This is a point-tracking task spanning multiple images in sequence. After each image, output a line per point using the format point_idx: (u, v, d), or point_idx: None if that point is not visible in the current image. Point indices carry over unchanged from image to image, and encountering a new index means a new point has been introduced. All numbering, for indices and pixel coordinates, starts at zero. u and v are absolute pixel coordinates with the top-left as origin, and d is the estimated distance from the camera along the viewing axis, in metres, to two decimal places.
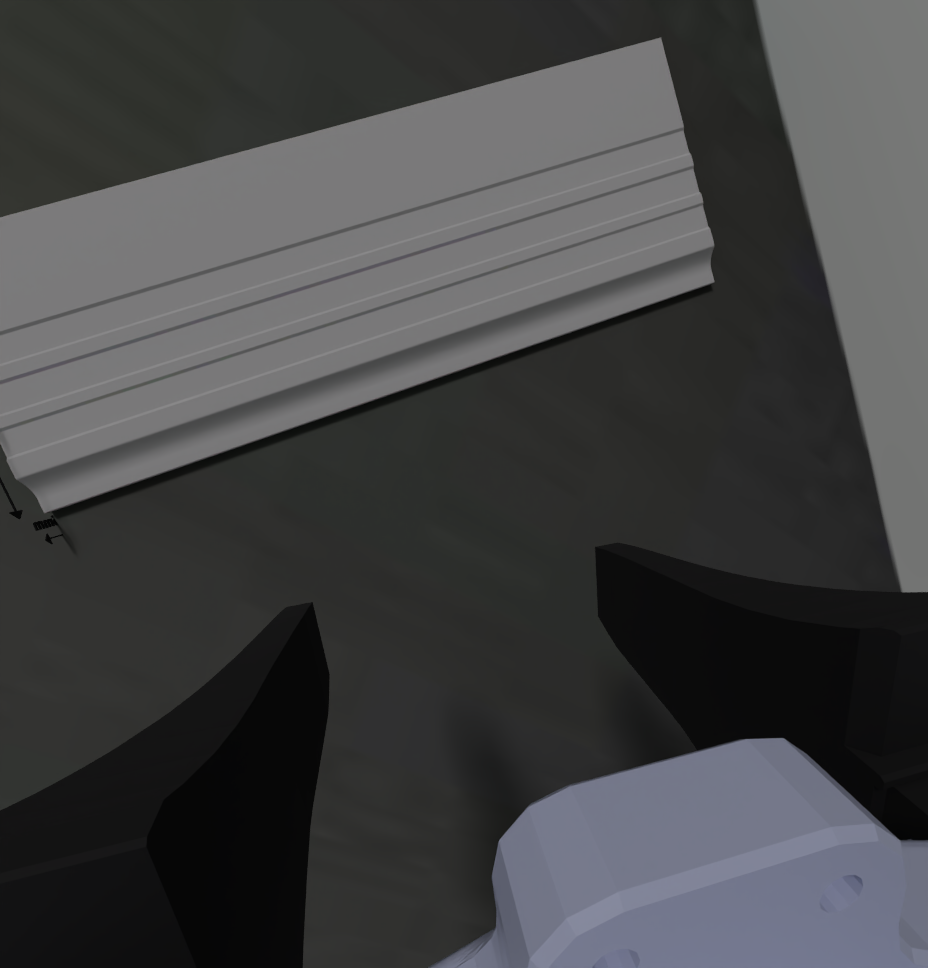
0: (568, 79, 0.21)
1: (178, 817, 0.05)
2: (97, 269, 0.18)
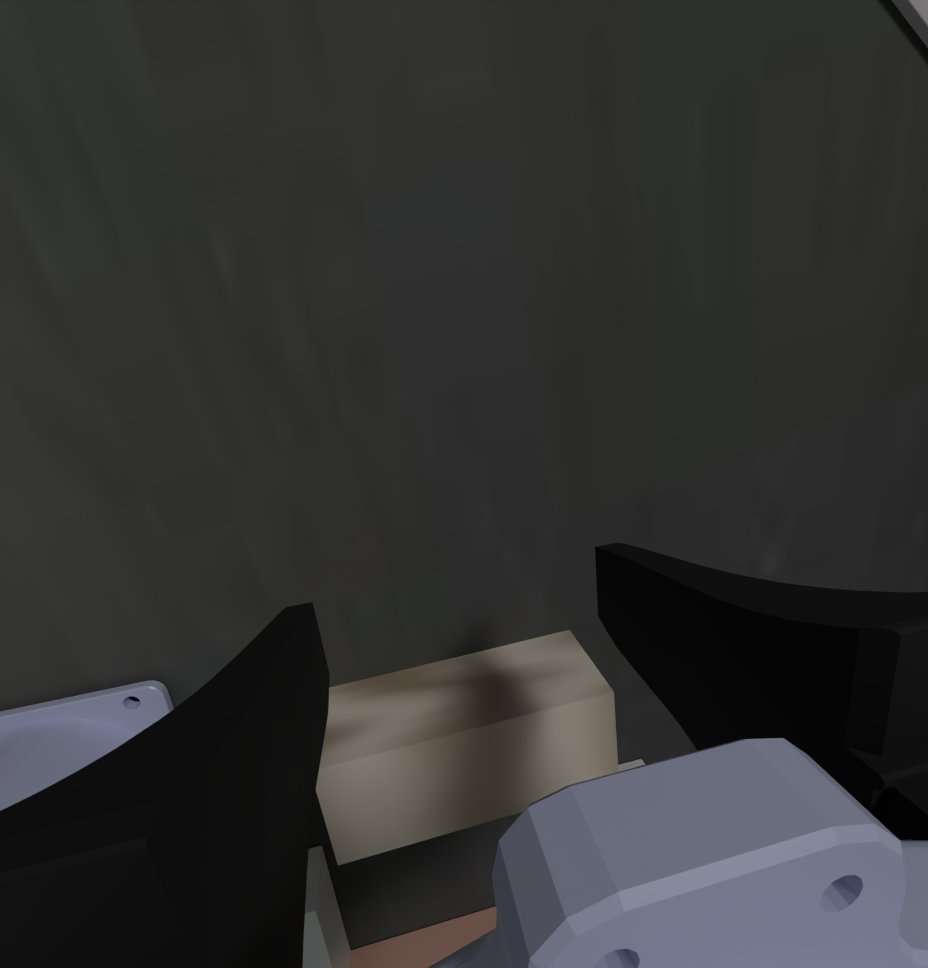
0: None
1: (178, 817, 0.05)
2: None
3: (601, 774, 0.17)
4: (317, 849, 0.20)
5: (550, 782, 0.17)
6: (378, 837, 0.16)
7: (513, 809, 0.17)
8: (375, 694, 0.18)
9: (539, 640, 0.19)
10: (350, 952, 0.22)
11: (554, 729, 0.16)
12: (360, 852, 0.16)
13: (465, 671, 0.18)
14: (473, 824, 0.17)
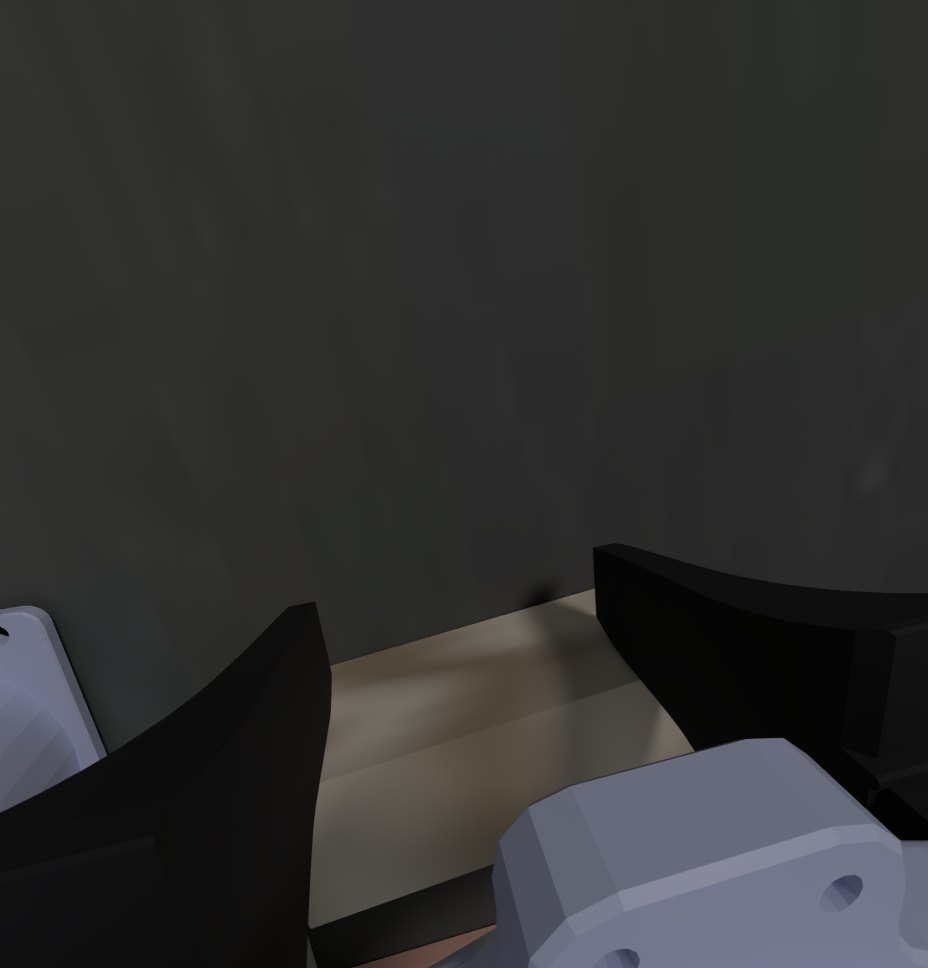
0: None
1: (185, 815, 0.05)
2: None
3: None
4: None
5: None
6: (365, 886, 0.11)
7: None
8: (353, 687, 0.13)
9: (572, 603, 0.15)
10: None
11: (605, 722, 0.11)
12: (341, 908, 0.11)
13: (475, 648, 0.13)
14: None
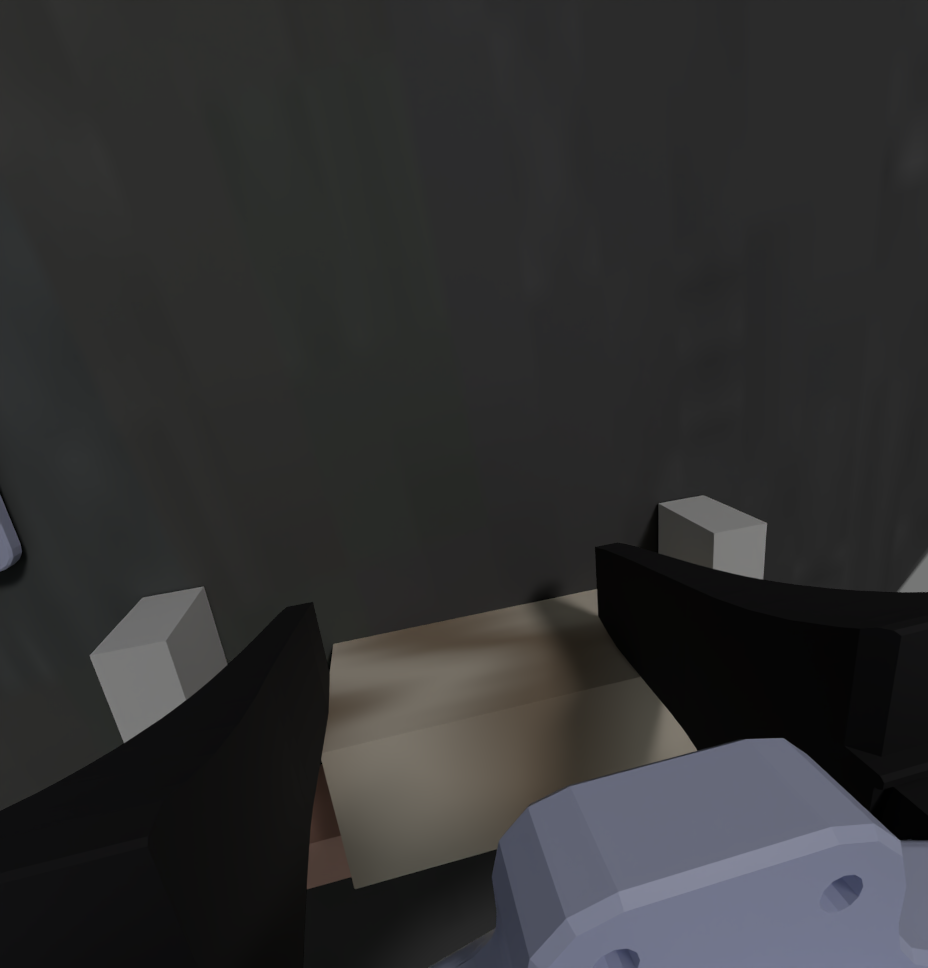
0: None
1: (179, 817, 0.05)
2: None
3: None
4: (195, 590, 0.13)
5: None
6: (412, 850, 0.11)
7: None
8: (406, 654, 0.13)
9: None
10: None
11: None
12: (387, 870, 0.11)
13: (527, 626, 0.14)
14: None
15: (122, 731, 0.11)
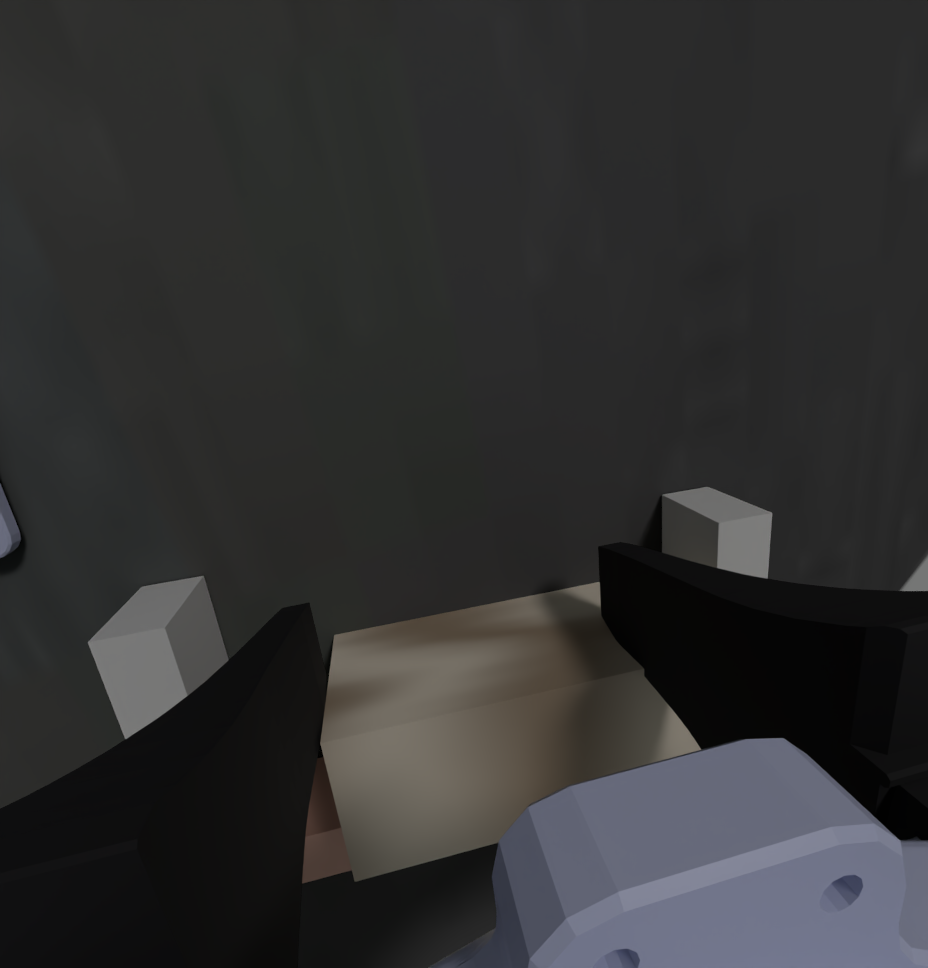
0: None
1: (170, 819, 0.05)
2: None
3: None
4: (195, 579, 0.12)
5: None
6: (414, 843, 0.11)
7: None
8: (408, 645, 0.13)
9: None
10: None
11: None
12: (388, 863, 0.11)
13: (530, 618, 0.13)
14: None
15: (120, 720, 0.11)
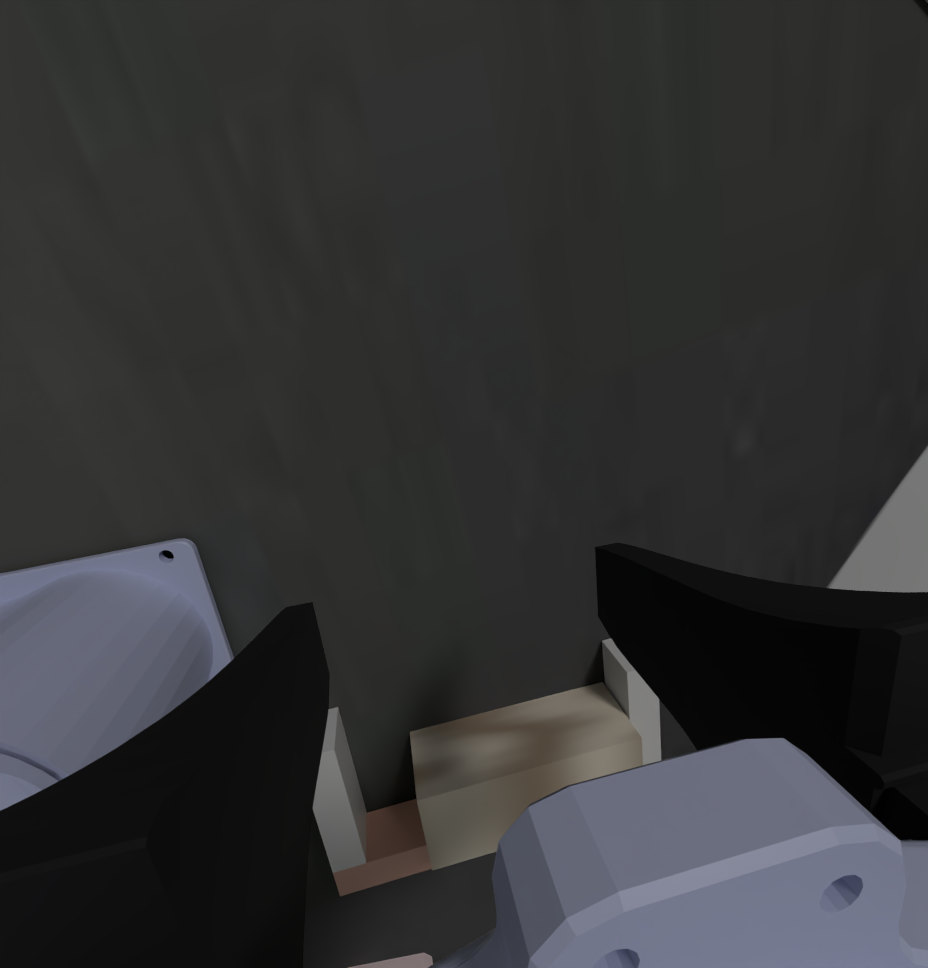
0: None
1: (178, 817, 0.05)
2: None
3: None
4: (334, 710, 0.22)
5: None
6: (463, 849, 0.21)
7: None
8: (453, 737, 0.23)
9: (579, 690, 0.24)
10: (366, 813, 0.24)
11: (596, 766, 0.21)
12: (449, 860, 0.21)
13: (522, 717, 0.23)
14: None
15: None
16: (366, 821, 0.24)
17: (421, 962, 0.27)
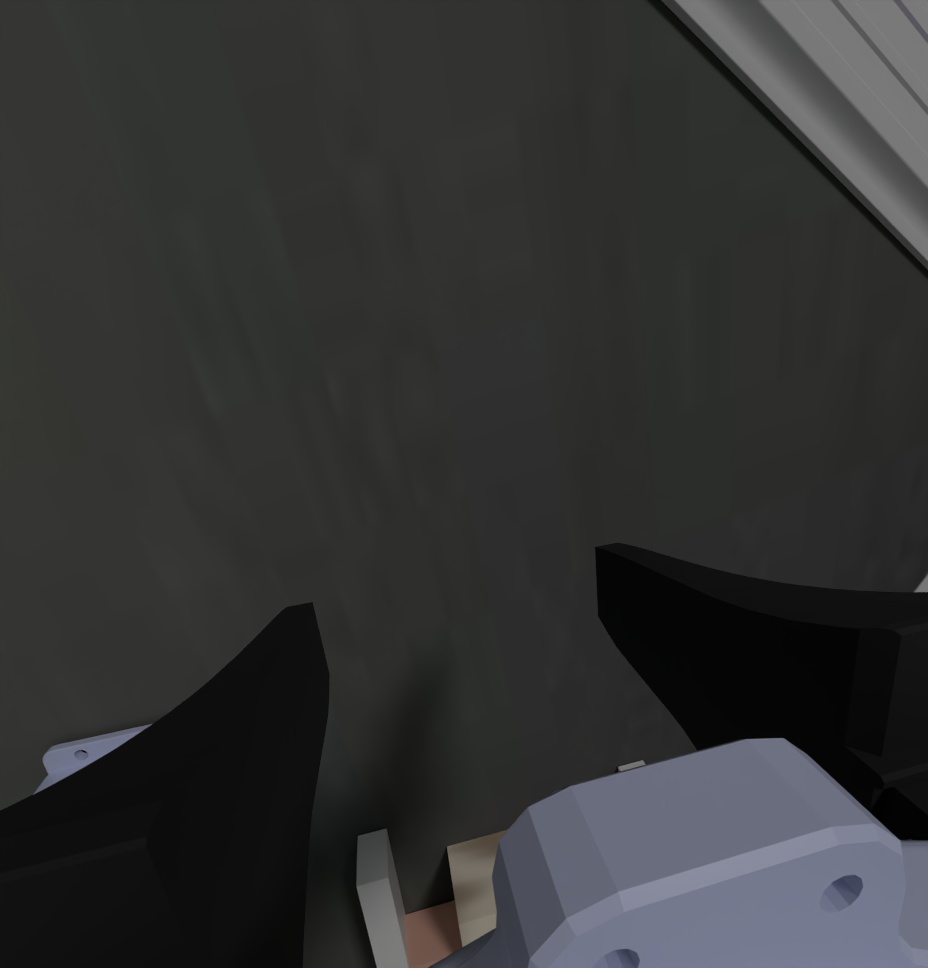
0: None
1: (178, 817, 0.05)
2: None
3: None
4: (383, 831, 0.25)
5: None
6: None
7: None
8: (486, 855, 0.26)
9: None
10: (405, 916, 0.27)
11: None
12: None
13: None
14: None
15: (364, 915, 0.23)
16: (406, 924, 0.27)
17: None
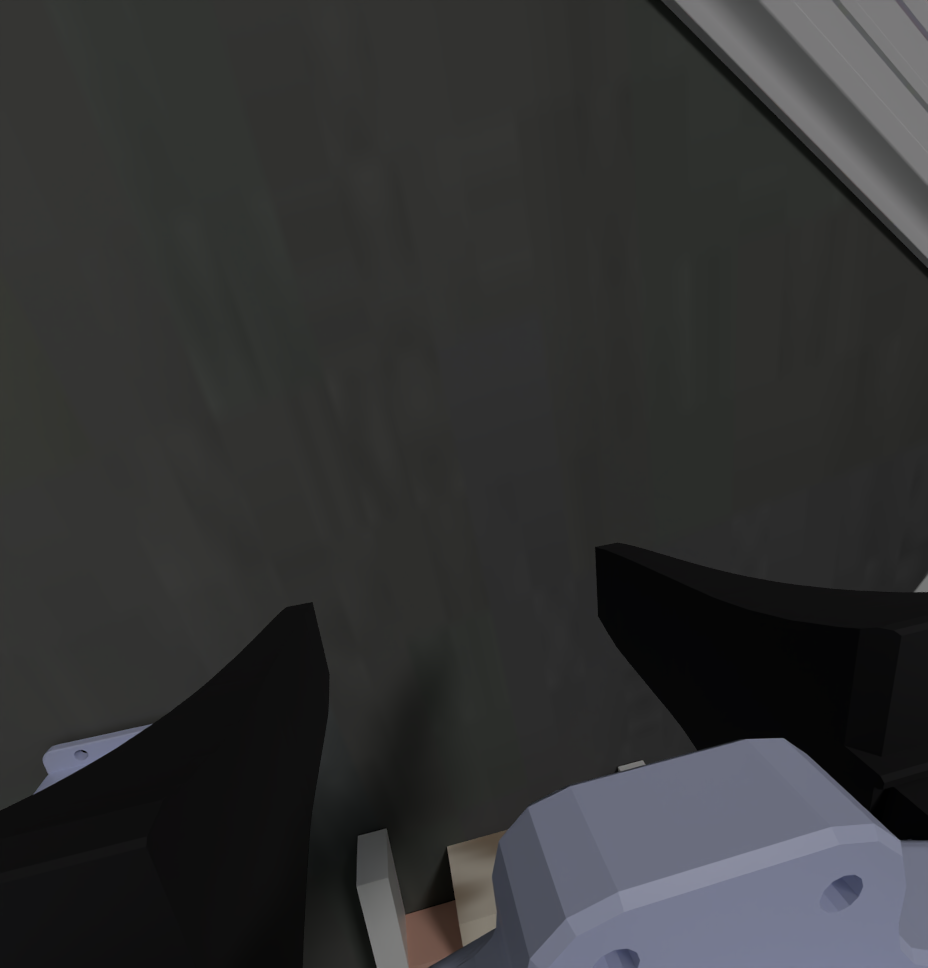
0: None
1: (178, 817, 0.05)
2: None
3: None
4: (383, 831, 0.25)
5: None
6: None
7: None
8: (487, 855, 0.26)
9: None
10: (405, 916, 0.27)
11: None
12: None
13: None
14: None
15: (364, 915, 0.23)
16: (406, 924, 0.27)
17: None
